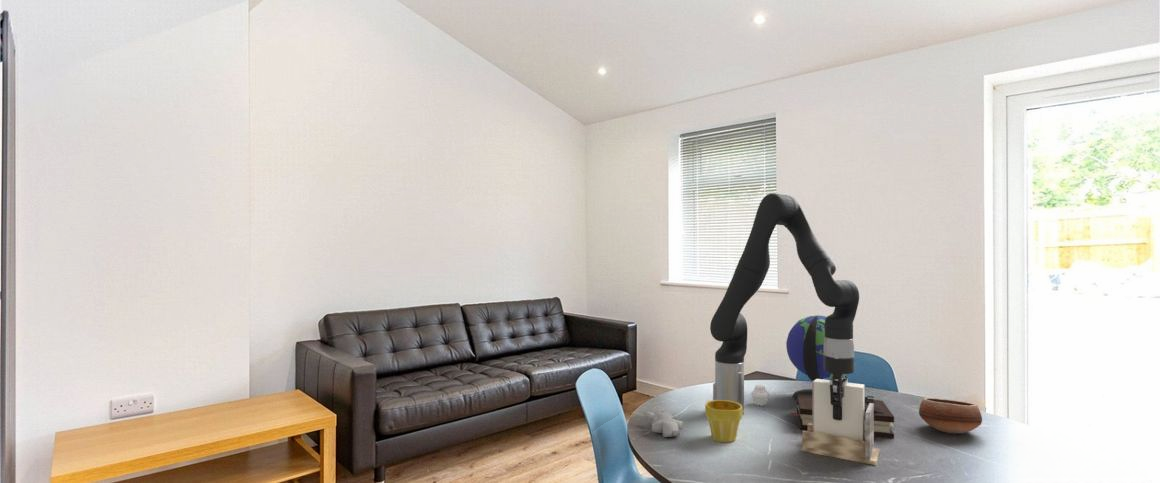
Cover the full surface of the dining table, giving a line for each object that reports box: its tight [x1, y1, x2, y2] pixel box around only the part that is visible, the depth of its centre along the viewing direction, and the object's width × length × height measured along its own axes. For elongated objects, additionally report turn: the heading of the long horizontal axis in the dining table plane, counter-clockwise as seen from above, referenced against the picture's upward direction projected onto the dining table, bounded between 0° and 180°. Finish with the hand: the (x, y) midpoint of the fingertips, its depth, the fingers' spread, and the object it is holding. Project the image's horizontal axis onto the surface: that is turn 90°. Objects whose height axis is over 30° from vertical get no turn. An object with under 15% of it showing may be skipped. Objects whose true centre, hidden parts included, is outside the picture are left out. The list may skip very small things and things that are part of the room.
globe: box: [785, 314, 833, 401], centre depth 202 cm, size 22×22×30 cm
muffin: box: [750, 384, 771, 407], centre depth 195 cm, size 6×6×7 cm
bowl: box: [918, 397, 983, 434], centre depth 167 cm, size 16×16×10 cm
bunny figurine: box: [644, 409, 684, 438], centre depth 170 cm, size 10×5×15 cm
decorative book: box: [790, 394, 895, 439], centre depth 174 cm, size 19×8×30 cm
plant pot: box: [704, 399, 743, 443], centre depth 163 cm, size 10×10×10 cm
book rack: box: [801, 403, 881, 466], centre depth 152 cm, size 18×10×13 cm, turn 57°
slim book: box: [812, 378, 866, 441], centre depth 153 cm, size 12×4×14 cm, turn 57°
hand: (838, 417), depth 152 cm, fingers closed on slim book, 4 cm apart
